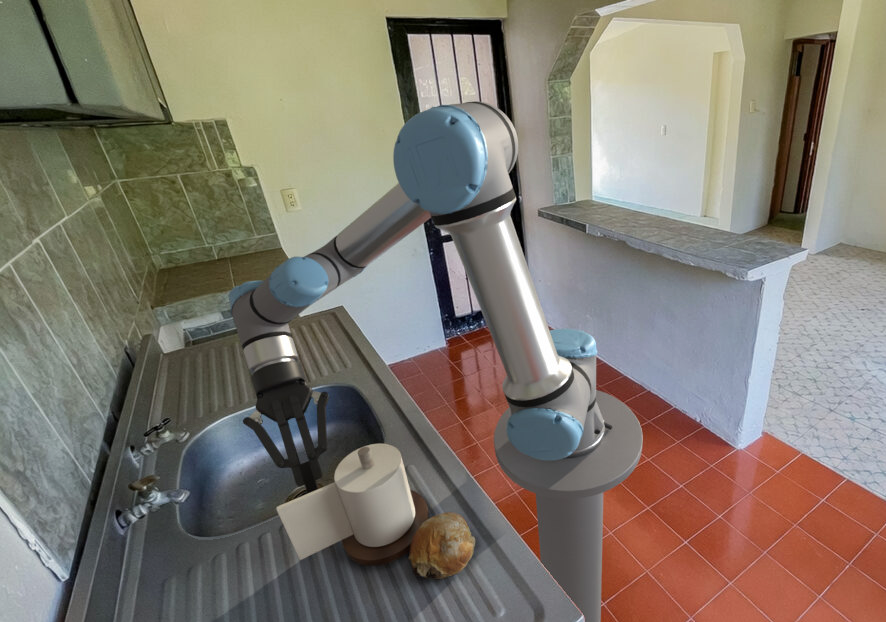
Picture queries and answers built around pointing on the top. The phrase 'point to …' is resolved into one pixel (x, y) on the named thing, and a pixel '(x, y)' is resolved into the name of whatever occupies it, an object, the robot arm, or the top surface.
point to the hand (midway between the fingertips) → (316, 502)
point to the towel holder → (396, 548)
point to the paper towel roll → (353, 505)
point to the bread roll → (441, 546)
